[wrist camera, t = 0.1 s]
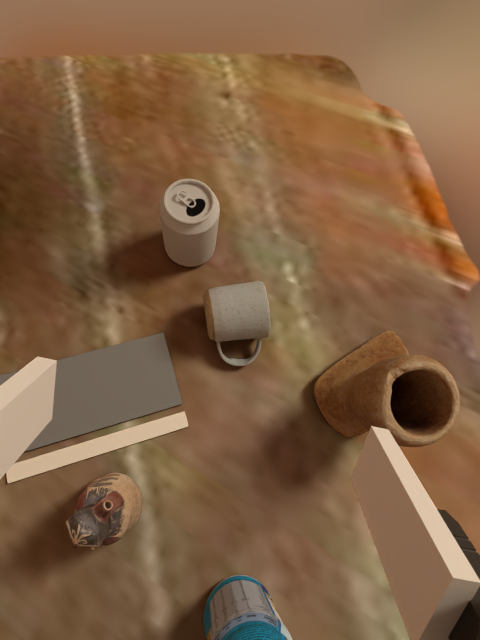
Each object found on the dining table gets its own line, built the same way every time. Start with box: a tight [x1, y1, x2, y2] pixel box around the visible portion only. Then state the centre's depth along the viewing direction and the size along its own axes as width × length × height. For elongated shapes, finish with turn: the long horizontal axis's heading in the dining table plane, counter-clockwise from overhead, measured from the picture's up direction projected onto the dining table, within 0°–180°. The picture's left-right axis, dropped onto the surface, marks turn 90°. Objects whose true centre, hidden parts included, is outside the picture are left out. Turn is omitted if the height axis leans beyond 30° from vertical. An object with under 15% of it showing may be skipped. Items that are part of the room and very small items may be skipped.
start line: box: [6, 411, 188, 483], centre depth 48 cm, size 2×22×1 cm, turn 107°
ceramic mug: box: [203, 281, 270, 366], centre depth 51 cm, size 11×8×8 cm
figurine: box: [66, 473, 142, 551], centre depth 40 cm, size 7×7×12 cm
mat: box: [0, 332, 183, 452], centre depth 49 cm, size 10×22×1 cm, turn 107°
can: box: [159, 179, 220, 267], centre depth 51 cm, size 8×8×12 cm
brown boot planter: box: [314, 331, 460, 447], centre depth 47 cm, size 15×12×15 cm
